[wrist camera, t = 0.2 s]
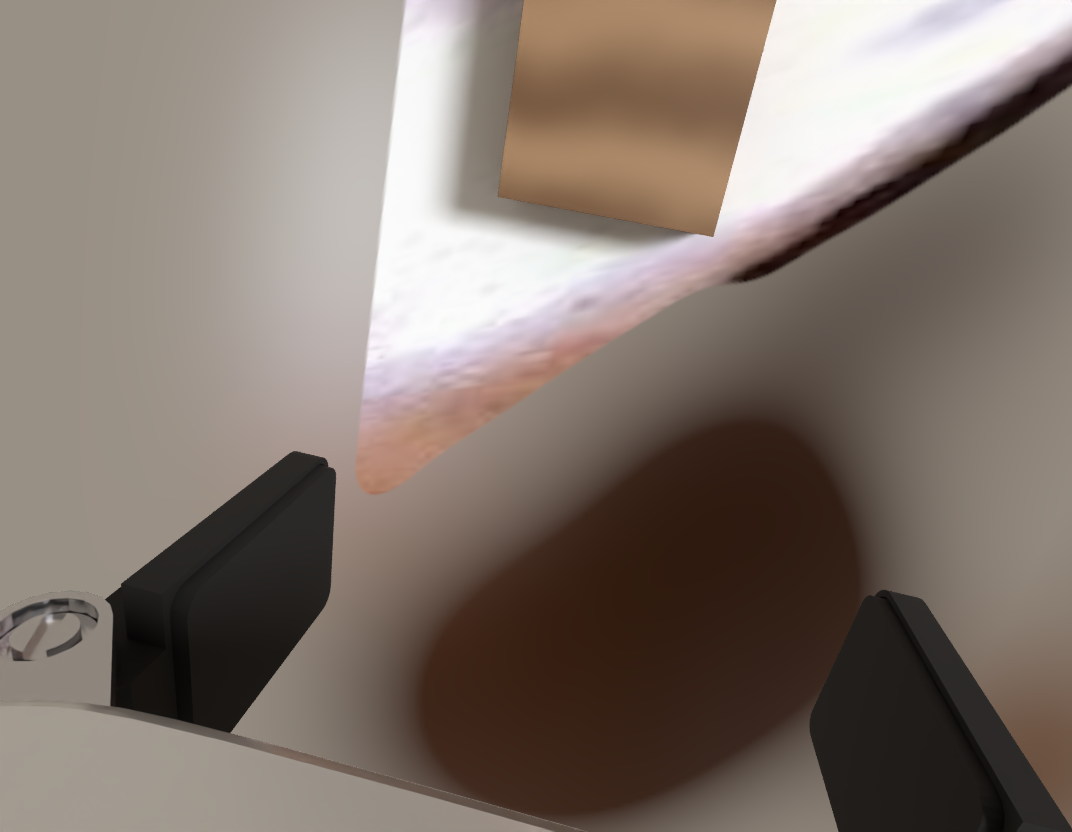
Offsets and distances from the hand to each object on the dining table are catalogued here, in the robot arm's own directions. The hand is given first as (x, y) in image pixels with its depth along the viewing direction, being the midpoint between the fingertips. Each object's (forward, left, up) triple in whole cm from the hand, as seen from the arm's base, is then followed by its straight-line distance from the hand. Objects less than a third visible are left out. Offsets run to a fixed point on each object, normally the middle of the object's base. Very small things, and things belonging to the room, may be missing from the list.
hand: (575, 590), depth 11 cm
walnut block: (-10, -2, -31) cm, 32 cm away
